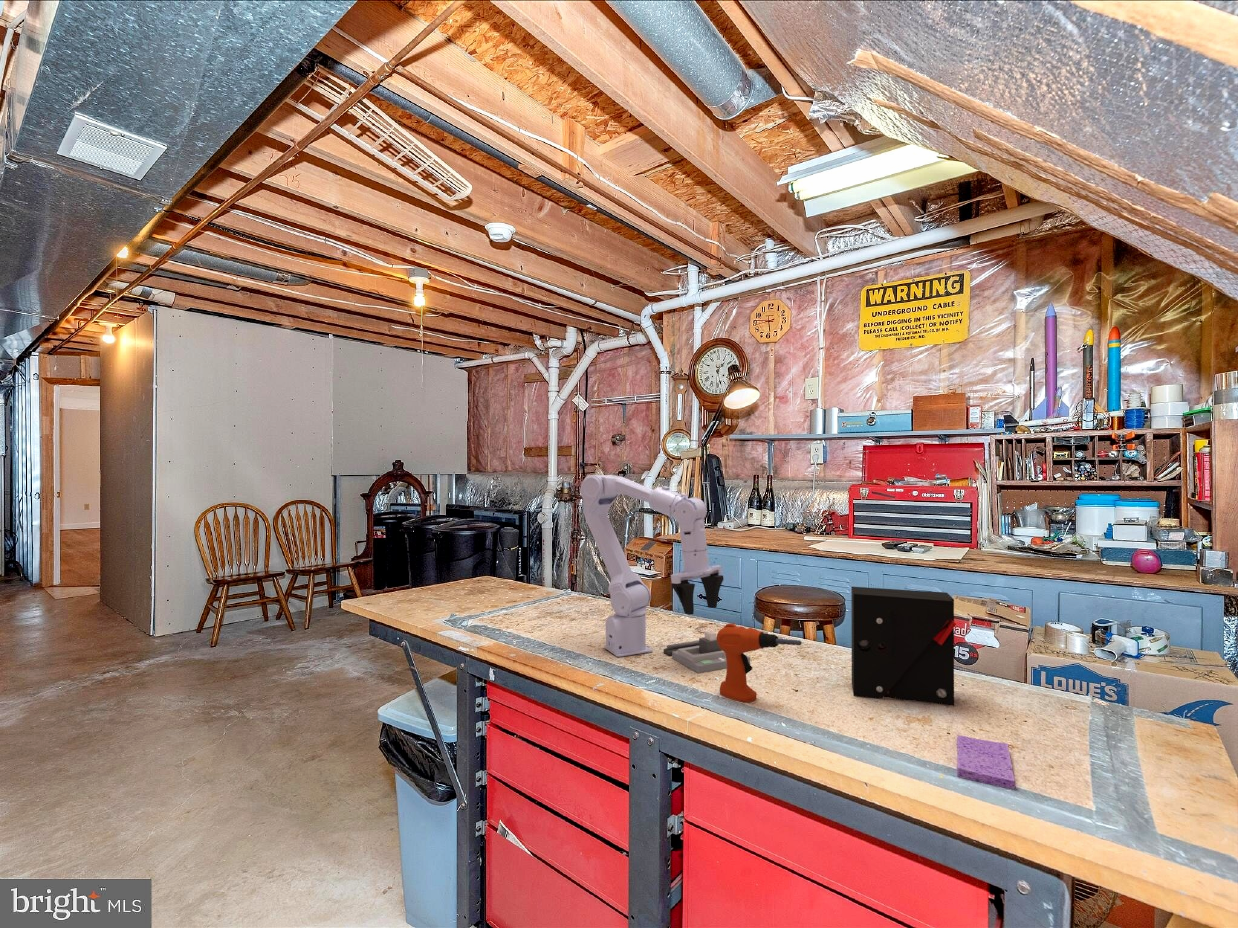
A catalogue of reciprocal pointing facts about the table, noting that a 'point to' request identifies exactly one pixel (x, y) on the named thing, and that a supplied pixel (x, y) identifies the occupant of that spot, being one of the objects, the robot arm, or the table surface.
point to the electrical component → (903, 645)
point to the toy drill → (743, 657)
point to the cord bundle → (680, 646)
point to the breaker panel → (701, 659)
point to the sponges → (984, 761)
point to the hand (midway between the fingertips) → (701, 610)
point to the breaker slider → (708, 643)
